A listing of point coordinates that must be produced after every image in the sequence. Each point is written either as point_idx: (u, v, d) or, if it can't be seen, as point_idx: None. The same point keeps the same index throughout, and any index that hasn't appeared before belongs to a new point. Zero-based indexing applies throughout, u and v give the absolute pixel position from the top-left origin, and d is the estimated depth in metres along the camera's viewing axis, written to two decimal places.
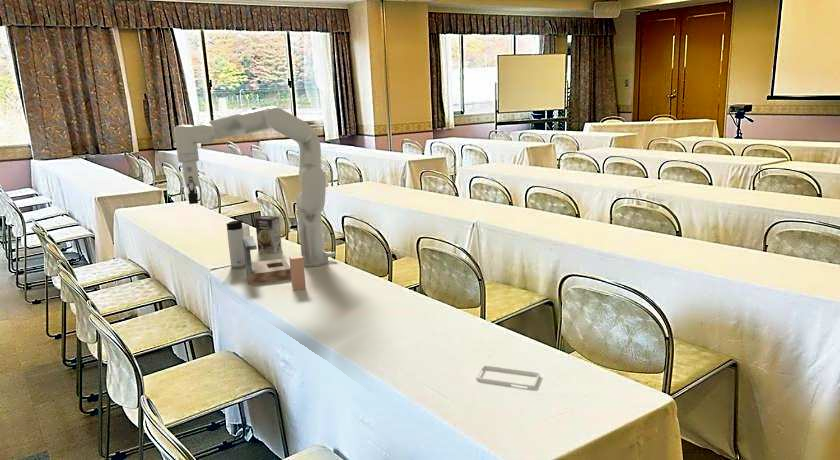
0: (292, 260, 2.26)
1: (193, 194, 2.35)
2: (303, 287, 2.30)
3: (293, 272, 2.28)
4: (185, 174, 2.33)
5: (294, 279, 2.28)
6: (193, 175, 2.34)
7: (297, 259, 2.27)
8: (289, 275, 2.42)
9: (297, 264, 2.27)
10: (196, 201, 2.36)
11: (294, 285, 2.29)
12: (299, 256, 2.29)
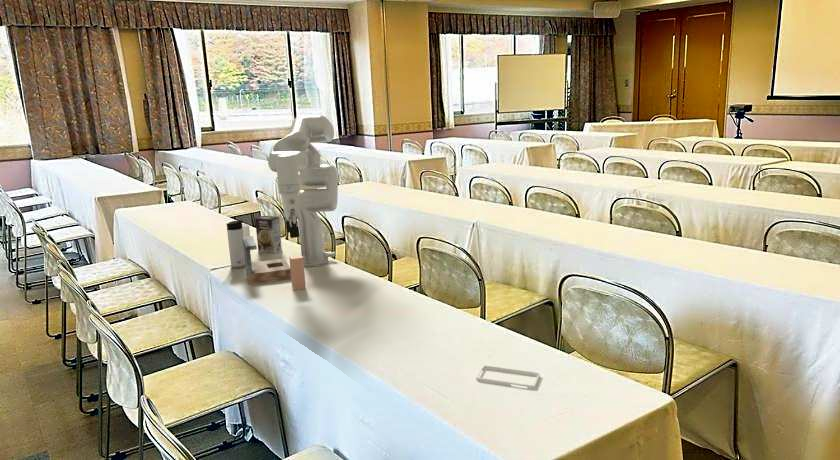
0: (292, 260, 2.26)
1: (295, 227, 2.21)
2: (303, 287, 2.30)
3: (293, 272, 2.28)
4: (287, 206, 2.20)
5: (294, 279, 2.28)
6: (295, 207, 2.20)
7: (297, 259, 2.27)
8: (289, 275, 2.42)
9: (297, 264, 2.27)
10: (297, 235, 2.22)
11: (294, 285, 2.29)
12: (299, 256, 2.29)
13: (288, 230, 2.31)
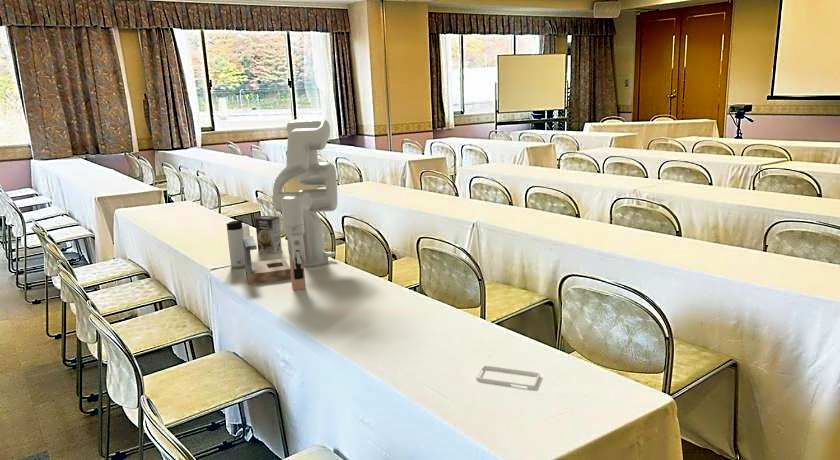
0: None
1: (299, 269, 2.27)
2: (303, 287, 2.30)
3: (293, 272, 2.28)
4: (292, 248, 2.23)
5: (294, 279, 2.28)
6: (300, 248, 2.24)
7: None
8: (289, 275, 2.42)
9: None
10: (301, 276, 2.28)
11: (294, 285, 2.29)
12: None
13: None
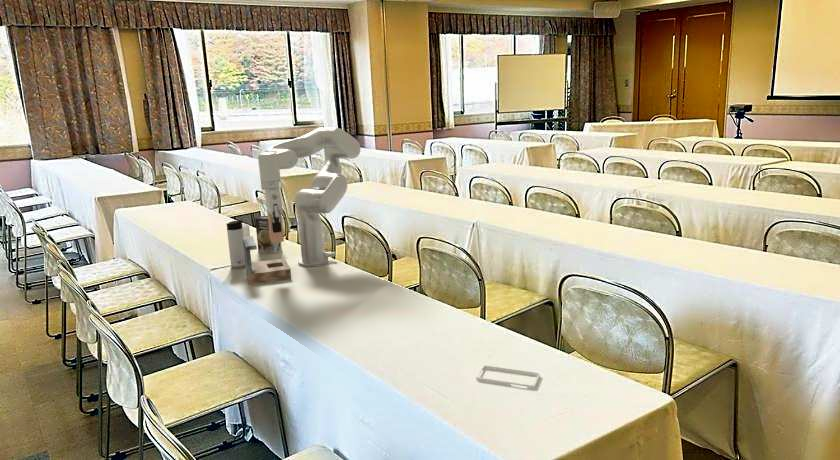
0: None
1: (277, 223, 2.37)
2: (281, 240, 2.41)
3: (271, 226, 2.38)
4: (270, 202, 2.33)
5: (272, 232, 2.39)
6: (278, 202, 2.34)
7: (274, 213, 2.37)
8: (289, 275, 2.42)
9: None
10: (280, 230, 2.39)
11: (273, 238, 2.39)
12: None
13: None
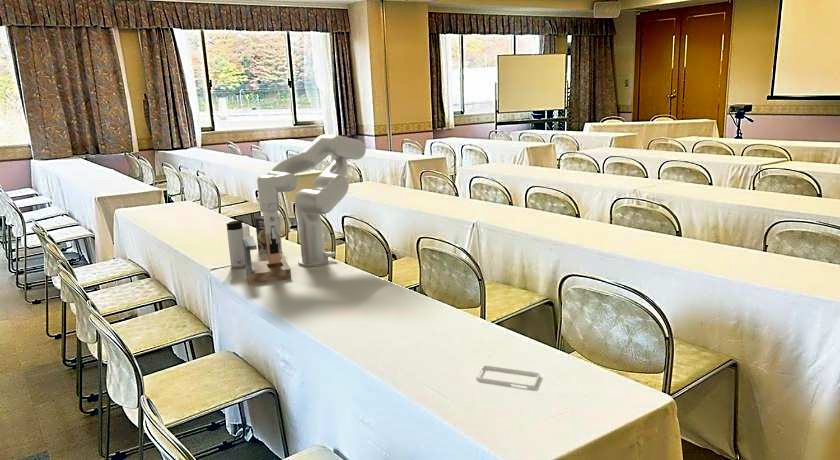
0: None
1: (274, 244, 2.42)
2: (278, 261, 2.45)
3: (269, 247, 2.43)
4: (268, 224, 2.38)
5: (270, 253, 2.43)
6: (275, 224, 2.39)
7: None
8: (289, 275, 2.42)
9: None
10: (277, 251, 2.43)
11: (270, 259, 2.44)
12: None
13: None
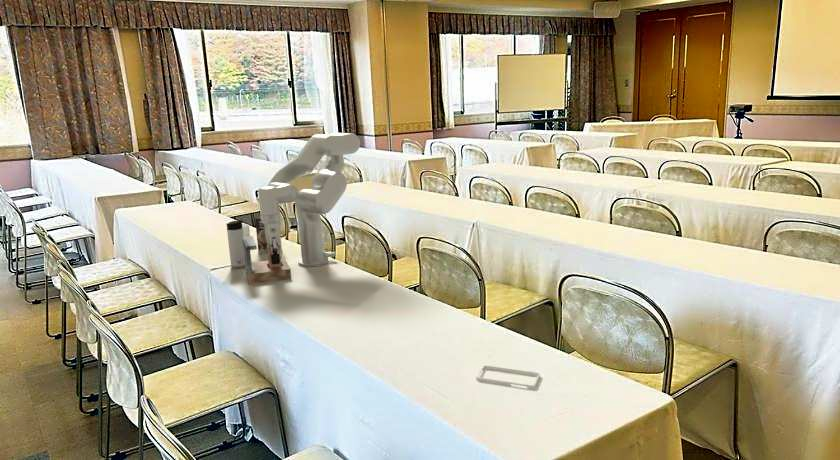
0: (269, 249, 2.43)
1: (276, 255, 2.42)
2: None
3: (270, 260, 2.44)
4: (269, 235, 2.39)
5: (271, 267, 2.45)
6: (276, 235, 2.40)
7: None
8: (289, 275, 2.42)
9: None
10: (278, 261, 2.44)
11: None
12: None
13: None
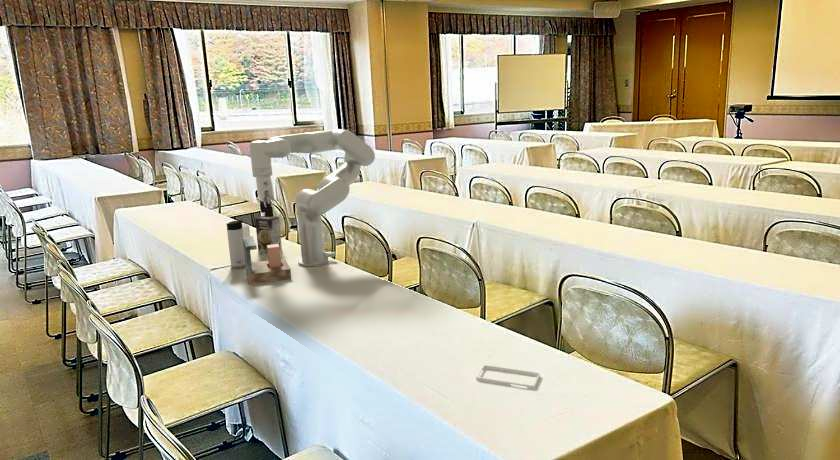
0: (269, 249, 2.43)
1: (269, 207, 2.41)
2: None
3: (270, 260, 2.44)
4: (261, 188, 2.40)
5: (271, 267, 2.45)
6: (269, 189, 2.41)
7: (273, 248, 2.43)
8: (289, 275, 2.42)
9: (274, 253, 2.44)
10: (272, 214, 2.43)
11: None
12: (276, 245, 2.46)
13: (262, 211, 2.51)
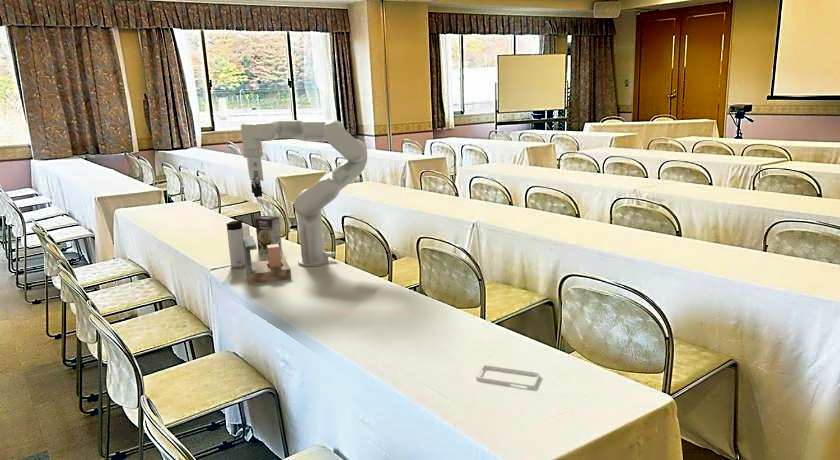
0: (269, 249, 2.43)
1: (258, 188, 2.49)
2: None
3: (270, 260, 2.44)
4: (251, 169, 2.47)
5: (271, 267, 2.45)
6: (258, 170, 2.48)
7: (273, 248, 2.43)
8: (289, 275, 2.42)
9: (274, 253, 2.44)
10: (260, 194, 2.50)
11: None
12: (276, 245, 2.46)
13: (253, 191, 2.58)
